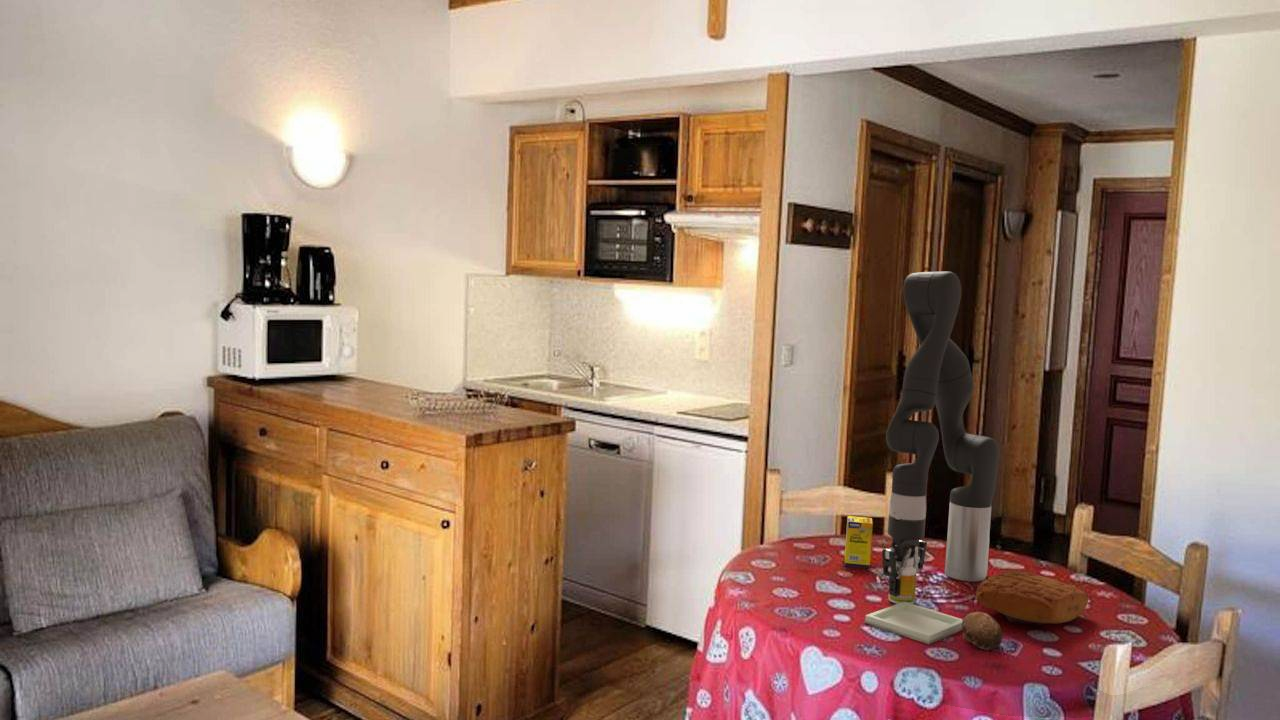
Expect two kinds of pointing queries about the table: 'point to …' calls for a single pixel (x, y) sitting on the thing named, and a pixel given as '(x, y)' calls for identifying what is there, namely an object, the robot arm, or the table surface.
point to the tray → (915, 622)
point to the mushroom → (982, 630)
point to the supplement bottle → (906, 584)
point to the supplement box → (858, 541)
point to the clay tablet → (1031, 597)
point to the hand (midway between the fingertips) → (901, 592)
